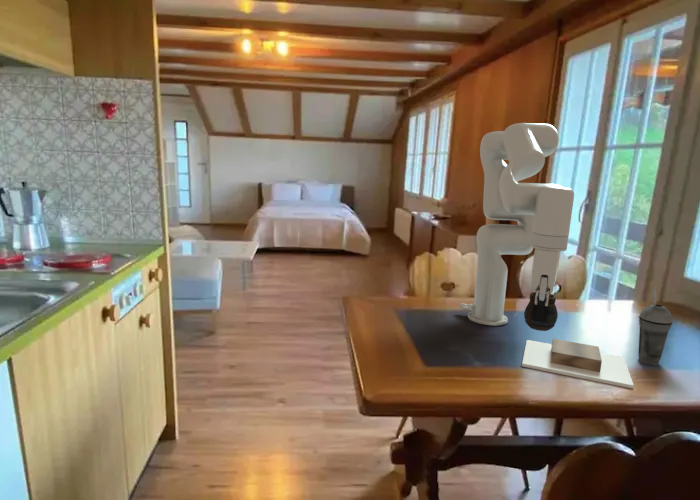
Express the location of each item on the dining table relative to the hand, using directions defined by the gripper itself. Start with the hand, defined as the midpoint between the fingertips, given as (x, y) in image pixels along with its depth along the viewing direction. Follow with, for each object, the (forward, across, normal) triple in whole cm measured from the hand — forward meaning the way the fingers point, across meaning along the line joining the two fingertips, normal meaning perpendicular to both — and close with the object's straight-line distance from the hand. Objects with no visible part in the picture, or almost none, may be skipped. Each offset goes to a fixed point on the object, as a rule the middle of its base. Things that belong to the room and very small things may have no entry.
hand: (539, 315), depth 104 cm
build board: (+15, -13, +9) cm, 22 cm away
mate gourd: (+3, 0, 0) cm, 3 cm away
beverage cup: (+16, -24, +27) cm, 40 cm away
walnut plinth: (+15, -13, +9) cm, 22 cm away
